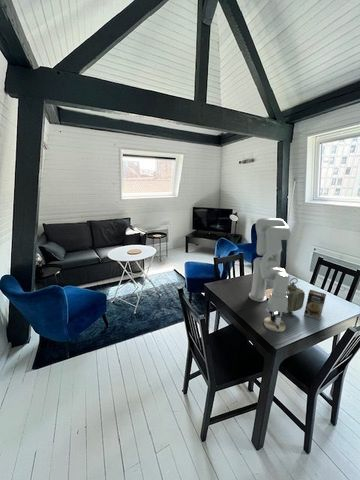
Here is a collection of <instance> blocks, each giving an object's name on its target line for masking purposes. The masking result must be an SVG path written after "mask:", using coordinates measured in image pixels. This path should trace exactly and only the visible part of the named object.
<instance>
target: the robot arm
mask: <svg viewBox="0 0 360 480" xmlns="http://www.w3.org/2000/svg"><path fill="white" fill-rule="evenodd" d="M255 231H256V237H257V238H256V239H257V240H256V254H257V255H258V256H262V257H256V258H255V259H253V274H252V275H253V276H252V285H251V292H249V294H248V297H249V298H250V299H251V300H252V301H254V302H259V303H260V302H266V301H267V303H266V308H265V310H264V311H266V313H269V314H270V317H271V318H270V319H271V320H272V322H274V319H275V316H274V313H275V312H277V313H278V314H279V316H280V317H281V318H282V317H283V315H285V314H287V313H289V312H288V310H287V307H288V298H287V295H288V294H289V292H287V291H288V285H290V283H289V282H290V280H291V278H290V274H288V273H287V271H286V269H285V268H284V267H283V268H282V267H281V254H282V253H281V252H283V247H282V241H283V240H284V241H286V240H289V239H290V238H291V236H292V235H291V233H292V232H291V229H290V227H289V226H288V224H287V223H286V221H284V219H282V218H274V217H273V218H272V217H270V218H268V217H266V218H265V217H264V218H259V219H257V220H256V222H255ZM267 281H273V285H272V293H269V294H270V295H269V297H268V300H267V296H266V289H267Z"/></svg>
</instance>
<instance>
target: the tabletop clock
mask: <svg viewBox="0 0 360 480" xmlns="http://www.w3.org/2000/svg"><path fill="white" fill-rule="evenodd" d="M293 280H296V281H295V282H294V281H293ZM291 282H292V283H291ZM297 283H298V278H297V277H293V278H290V279H289V285H288V291H287V292H289V294H288V295H287V298H288V307H287V310H288V313H289V314H290V315H291V316H292V315H293V314H294V313H293V312H296V311H299V310H301V309H302V308H303V306H304V303H305V296H306V294H305V291H304V290H303V289H301V288H299V287H297V286H296V284H297Z"/></svg>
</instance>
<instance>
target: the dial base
mask: <svg viewBox="0 0 360 480" xmlns="http://www.w3.org/2000/svg"><path fill="white" fill-rule="evenodd" d="M270 318H271V316H267V317H265V318H264V319H263V325H264V327H265V328H267V329H268V330H270V331H271V332H277V333H282V332H285V330H286V327H287V325H286V323H285V322H284V321H283V320H282V319H281V321H280V327H279V329H278V328H277V327H275V325H274V324H273V322H272V320H271V319H270Z"/></svg>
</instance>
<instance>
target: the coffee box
mask: <svg viewBox="0 0 360 480" xmlns="http://www.w3.org/2000/svg"><path fill="white" fill-rule="evenodd" d="M307 295H308V296H307V300H306V304H305V310H304V314H303V315H304V316H306V317H310V318H313V319H316V320H319V321H320V320H321V318H322V313H323V309H324V305H325V301H326V297H327V294H326V293H323V292H321V291H316V290H314V289H309V291H308V294H307Z"/></svg>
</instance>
